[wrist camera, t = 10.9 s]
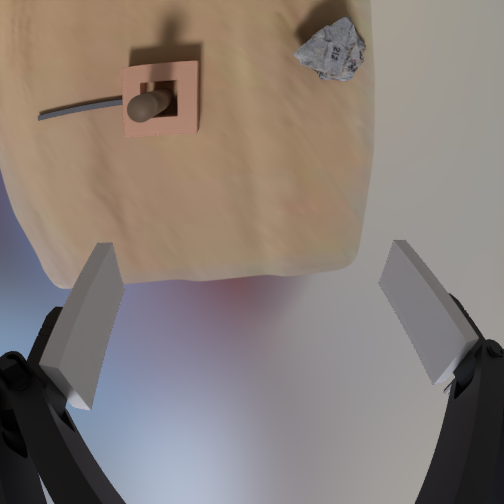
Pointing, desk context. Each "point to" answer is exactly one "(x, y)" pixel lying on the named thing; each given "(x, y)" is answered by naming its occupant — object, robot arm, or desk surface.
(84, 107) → the strip
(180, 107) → the pink square frame
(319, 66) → the mineral specimen
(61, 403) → the robot arm
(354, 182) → the desk surface
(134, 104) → the dowel
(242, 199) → the desk surface
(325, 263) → the desk surface
